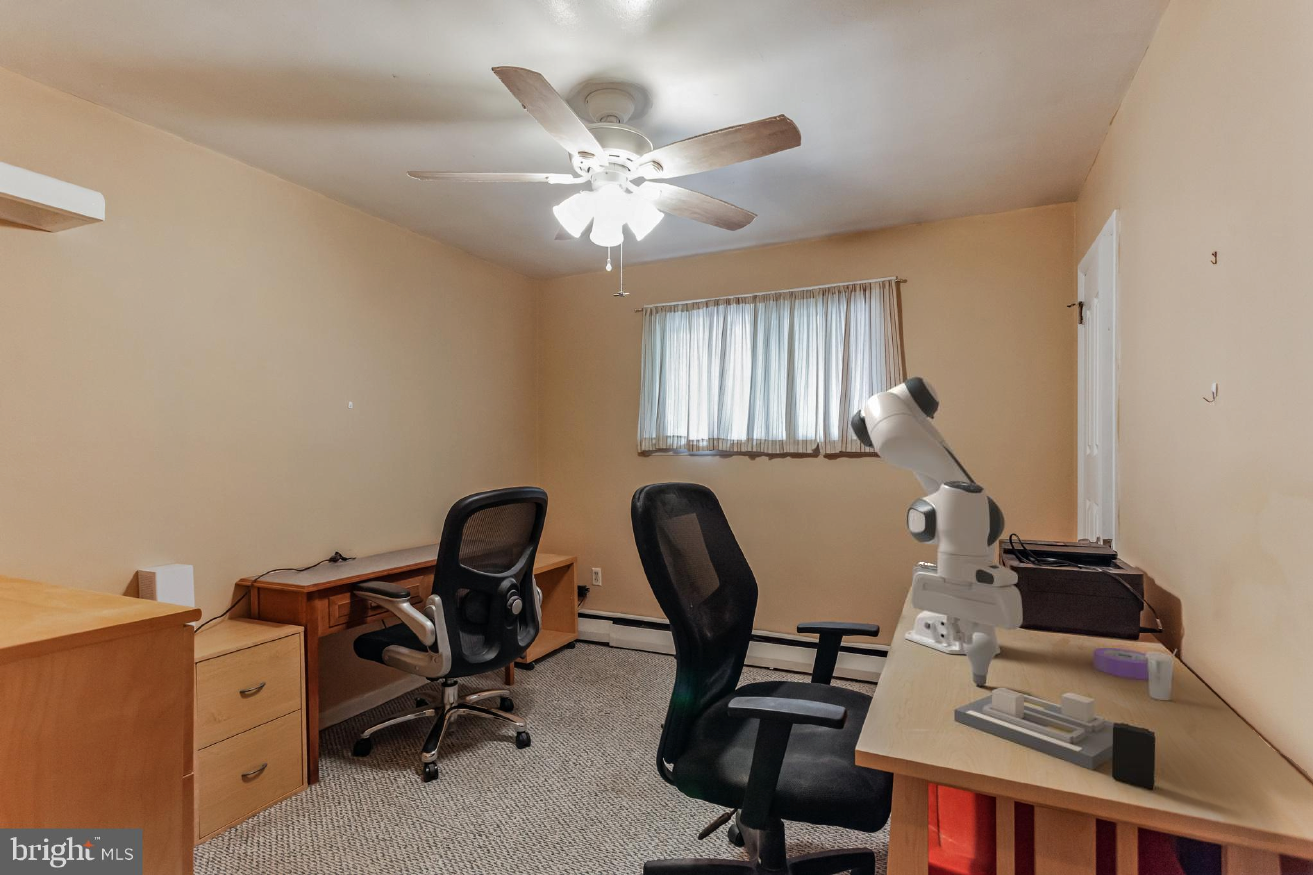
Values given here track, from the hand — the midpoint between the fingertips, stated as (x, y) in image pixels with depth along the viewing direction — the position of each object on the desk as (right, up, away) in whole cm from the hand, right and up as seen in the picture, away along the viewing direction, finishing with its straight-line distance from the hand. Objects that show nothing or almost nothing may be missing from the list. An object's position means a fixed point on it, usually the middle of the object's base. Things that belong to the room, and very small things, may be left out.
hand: (962, 642), depth 119 cm
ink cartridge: (+13, -13, -25) cm, 31 cm away
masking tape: (+50, -15, +26) cm, 59 cm away
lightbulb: (+11, -14, +15) cm, 23 cm away
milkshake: (+45, -14, +9) cm, 48 cm away
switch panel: (+10, -13, -8) cm, 18 cm away
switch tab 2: (+16, -11, -8) cm, 21 cm away
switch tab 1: (+5, -11, -7) cm, 13 cm away
